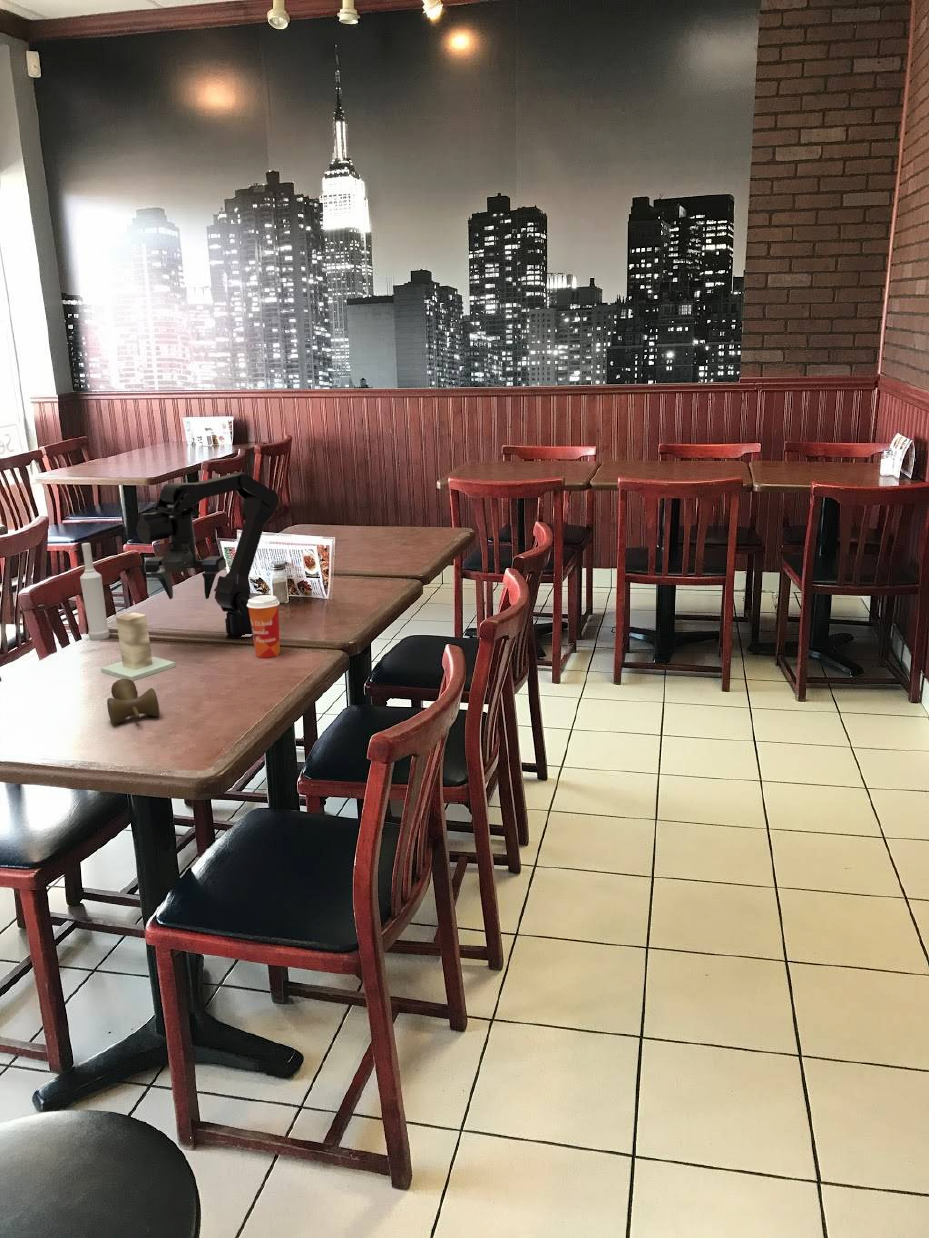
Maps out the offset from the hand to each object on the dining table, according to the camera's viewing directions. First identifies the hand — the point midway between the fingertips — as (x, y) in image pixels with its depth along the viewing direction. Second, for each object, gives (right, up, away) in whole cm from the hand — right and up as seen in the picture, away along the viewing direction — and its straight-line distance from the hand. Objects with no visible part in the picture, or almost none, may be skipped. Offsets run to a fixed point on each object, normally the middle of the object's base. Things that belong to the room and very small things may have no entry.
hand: (189, 598), depth 244 cm
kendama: (-2, -25, -37) cm, 45 cm away
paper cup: (+20, -14, -3) cm, 24 cm away
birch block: (-9, -16, -10) cm, 21 cm away
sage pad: (-9, -17, -10) cm, 21 cm away
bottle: (-28, -10, +17) cm, 34 cm away
